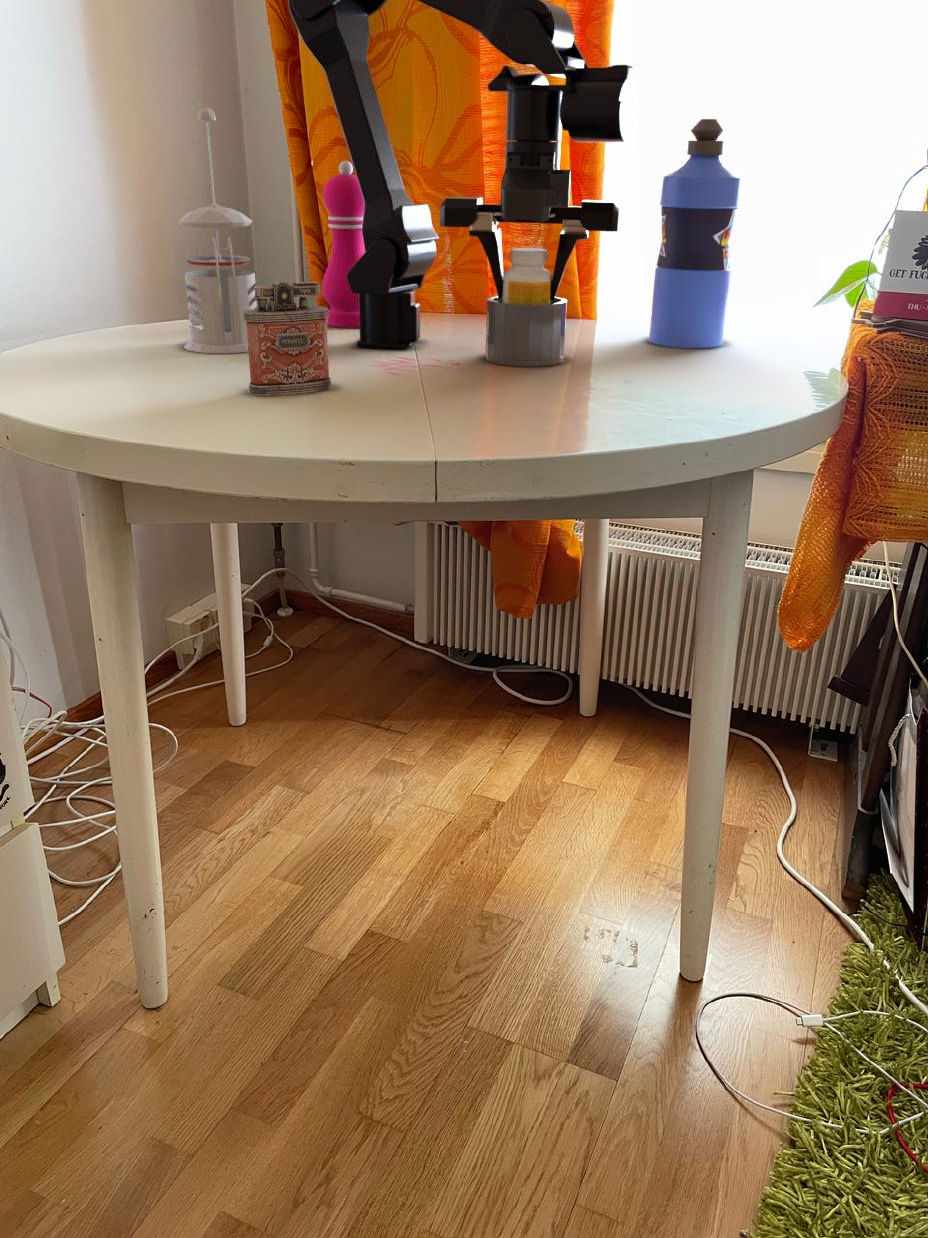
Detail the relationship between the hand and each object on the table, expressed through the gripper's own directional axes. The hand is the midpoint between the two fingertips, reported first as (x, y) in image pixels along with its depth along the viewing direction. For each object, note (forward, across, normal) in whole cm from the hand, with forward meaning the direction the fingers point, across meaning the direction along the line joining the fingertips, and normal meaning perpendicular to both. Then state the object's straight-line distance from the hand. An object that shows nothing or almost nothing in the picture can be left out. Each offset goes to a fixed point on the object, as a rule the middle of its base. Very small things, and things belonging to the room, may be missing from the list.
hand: (526, 298), depth 109 cm
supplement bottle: (+5, 0, 0) cm, 5 cm away
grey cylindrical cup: (+7, 0, 0) cm, 7 cm away
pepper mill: (+7, -25, +20) cm, 33 cm away
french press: (+7, -35, 0) cm, 36 cm away
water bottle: (+7, +19, +16) cm, 26 cm away
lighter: (+7, -21, -21) cm, 30 cm away
